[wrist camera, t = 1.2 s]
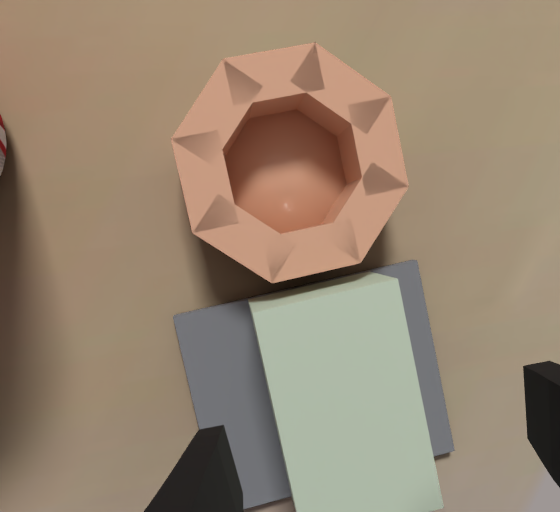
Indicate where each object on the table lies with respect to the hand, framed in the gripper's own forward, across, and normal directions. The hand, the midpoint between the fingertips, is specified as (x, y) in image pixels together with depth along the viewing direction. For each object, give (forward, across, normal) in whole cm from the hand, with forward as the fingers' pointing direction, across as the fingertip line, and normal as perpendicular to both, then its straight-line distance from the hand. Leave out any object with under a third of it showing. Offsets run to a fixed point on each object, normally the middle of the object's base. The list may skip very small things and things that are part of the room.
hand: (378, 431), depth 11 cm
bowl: (+12, +1, -5) cm, 13 cm away
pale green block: (+9, +1, +4) cm, 10 cm away
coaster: (+9, +1, +4) cm, 10 cm away
